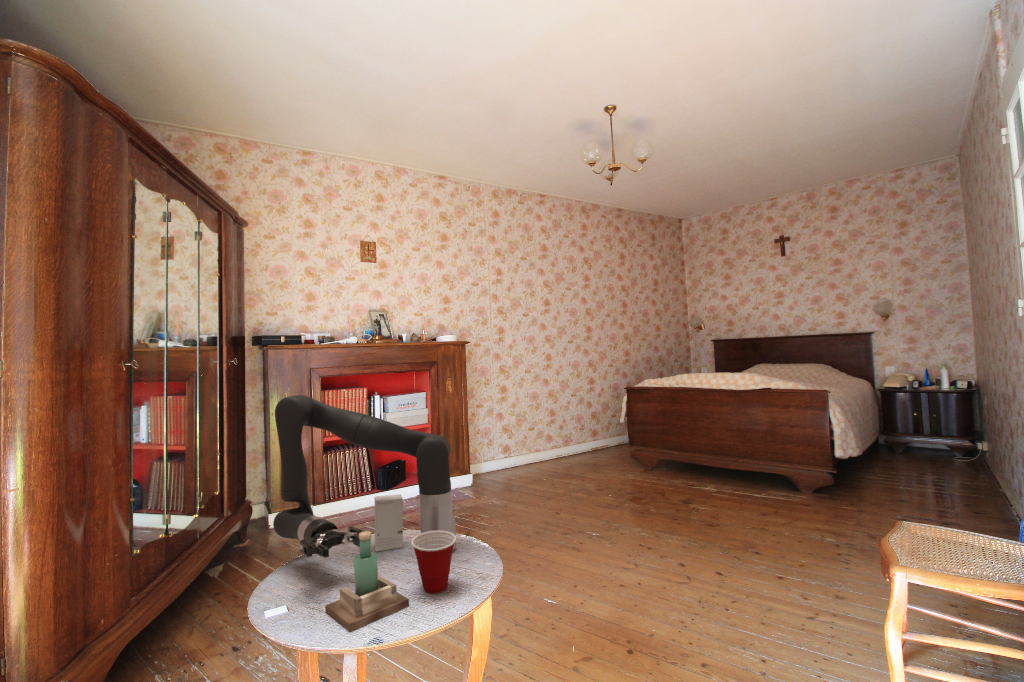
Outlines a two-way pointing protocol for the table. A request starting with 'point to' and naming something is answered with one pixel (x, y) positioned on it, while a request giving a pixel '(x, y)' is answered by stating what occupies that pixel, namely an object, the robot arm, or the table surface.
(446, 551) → the plastic cup
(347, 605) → the bottle cradle
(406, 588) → the table surface
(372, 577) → the green bottle
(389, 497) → the skincare box
